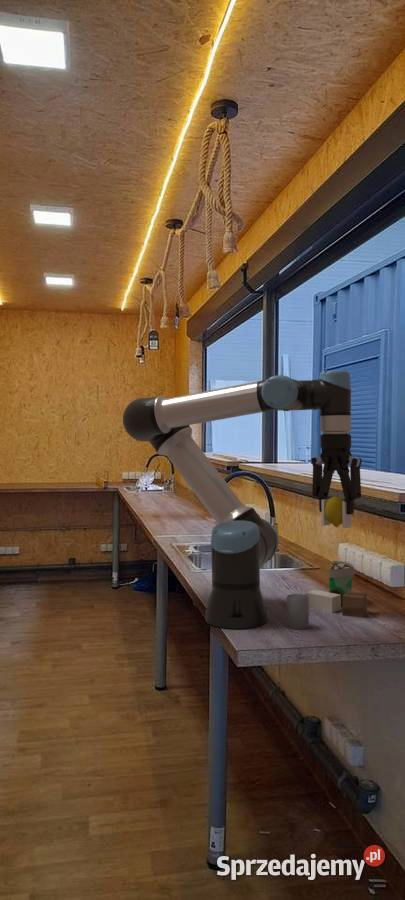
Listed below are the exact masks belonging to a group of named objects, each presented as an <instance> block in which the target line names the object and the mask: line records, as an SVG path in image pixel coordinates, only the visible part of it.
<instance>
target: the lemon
mask: <svg viewBox="0 0 405 900" xmlns="http://www.w3.org/2000/svg"><path fill="white" fill-rule="evenodd" d="M328 499H329V500H328V501H327V503H326V506H325V516H326V519H327V520H328V522H329V523H331V525H333V527H334V528H338V527H340V526H341V525H342V501H344V499H343V498H342V497H339V496H338V495H334V496H332V497H331V498H330V497H329V498H328Z"/></svg>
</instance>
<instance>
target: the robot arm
mask: <svg viewBox="0 0 405 900" xmlns="http://www.w3.org/2000/svg"><path fill="white" fill-rule="evenodd" d="M308 410H309V411H311V410H313V411H317V410H319V432H320V433H322V434H320V436H319V439H320V443H319V445H320V446H319V447H320V449H321V452H320V455H319V456H317V457H316V456H315V457H311V459H310V460H311V465H312V489H311V490H312V494H311V495H312V496H313V497H316V498H317V499H318V503H319V504H318V505H319V506H318V507H319V509H318V511H319V512H321V526H331V525H332V524H331V523H329V522H328V520H327V519H326V516H325V506H326V503H327V501H328V500H329V499H330V496H329V492H330V488H331V484H332V481H333V475H334V473H336V474H337V475H338V477H339V480H340V485H341V488H342V492H343V497H344V499H343V500H344V501H342V524H341V525H342V527H341V528H342V529H349V528H352V515H354V513H355V501H356V500H358V499H359V500H360V499H361V498H362V483H361V466H362V465H361V464H362V461H363V460H362V458H360V457H358V458H357V457H354V456H353V455H352V453H351V449H352V435H351V434H350V432H351V431H352V412H351V411H352V386H351V375H350V373H349V371H347V370H343V369H336V370H335V369H333V370H323V371H320V373H319V377H318V379H313V380H311V379H306V380H298V379H295V378H291V377H290V376H286V375H283V374H281V375H279V374H278V375H273V376H270V377H269V378H267V379H263V380H259V381H258V380H257V381H252V382H247V383H242V384H237V385H231V386H226V387H221V388H216V389H212V390H211V389H210V390H206V391H199V392H196V393H195V392H194V393H190V394H185V395H184V394H183V395H180V396H175V397H169V398H166V397H165V396H164V395H158V396H152V397H140V398H136V399H134V400H132V401H131V402H129V403H128V404H127V406H126V407H125V409H124V410H123V411H124V412H123V415H122V425H123V429H124V430H125V432H126V433H127V434H128V435H129V436H130V437H131V438H132V439H134V440H136V441H138V442H145V443H146V442H149V444H150V446H152V447H153V449H154V450H155V451H156V453H157V455H159V456H166V457H167V458H168V460H169V461H170V462H171V464H172V465H173V466H174V467H175V469H176V470H177V472H178V473H179V474H180V476H181V477H182V478H183V480H184V481H185V482H186V484H187V485H188V487H190V489H191V490H192V491H193V493H194V494H195V495H196V497H197V498H198V499H199V501H200V502H201V503H202V505H203V507H204V508H205V509H206V510H207V512H208V513H209V515H210V516H211V517H212V518H213V520H214V521H215V522H216V523H217V524H216V525H215V526H213V528H212V530H211V538H210V545H211V546H210V547H211V548H210V549H211V551H210V553H211V583H212V584H211V592H210V594H209V598H208V603H207V607H206V608H205V612H204V613H205V622H206V624H207V623H208V624H209V625H211V626H214V627H217V628H222V629H237V630H238V629H239V630H240V629H250V628H256V627H259V626H262V625H265V624H267V622H268V619H269V618H268V617H269V615H268V613H269V612H268V609H267V607H266V605H265V601H264V597H263V594H262V591H261V582H260V581H261V580H260V579H261V578H260V577H261V576H260V575H261V573H260V571H261V570H260V568H261V566H262V565H265V564H266V563H268V561H270V560H271V559H272V558H273V557H274V555H275V554H276V553H277V550H278V547H279V541H280V540H279V535H278V532H277V530H276V528H275V526H274V525H273V524H272V523H271V522H269V521H268V520H266V519H263V518H262V517H261V516H260V515H259V514H258V512H257V511H256V510H255V509H254V507H253V506H248V505H247V506H246V505H244V504H243V502H242V501H241V500H240V498H239V497H238V495H236V493H235V492H234V490H233V489H232V488H231V487H230V485H229V484H228V483H227V481H226V480H225V478H224V477H223V476H222V475H221V474H220V472H219V471H218V470H217V468H216V467H215V466H214V465H213V463H212V462H211V460H210V459H209V458H208V457H207V455H206V454H205V453H204V451H203V450H202V449H201V447H200V446H199V445H198V444H197V442H196V441H195V440H194V438H193V437H192V435H193V428H192V427H191V426H192V425H197V424H202V423H208V422H209V423H210V422H214V421H215V422H216V421H220V420H226V419H231V418H237V417H241V416H248V415H249V416H250V415H255V414H260V413H264V412H265V413H267V412H273V411H280V412H281V411H282V412H289V411H308ZM349 465H350V467H349Z"/></svg>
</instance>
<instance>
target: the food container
mask: <svg viewBox="0 0 405 900" xmlns="http://www.w3.org/2000/svg"><path fill="white" fill-rule="evenodd" d="M332 563H333V564H332V566H331V568H328V578H329V582H328V583H329V593H334V594H339V595H341V606H342V607H343V603H342V596H343V595H344V594H345V593H346V592H347V591H350V592H352V590H353V589H352V586H353V576H354V575H355V574H356V571H355V568H354V566H353V564H352V563H350V562H346V561H341V560H338V561H337V560H333V562H332Z"/></svg>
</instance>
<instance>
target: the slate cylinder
mask: <svg viewBox="0 0 405 900" xmlns="http://www.w3.org/2000/svg"><path fill="white" fill-rule="evenodd" d="M309 609H310V608H308V596H307V595H306V594H302V593H292V594H288V595H286V627H287V628H288V629H291V630H300V631H301V630H307V629H308V628H309V627H310V626H309V622H310V619H309V614H310V613H309V612H310V611H309Z"/></svg>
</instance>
